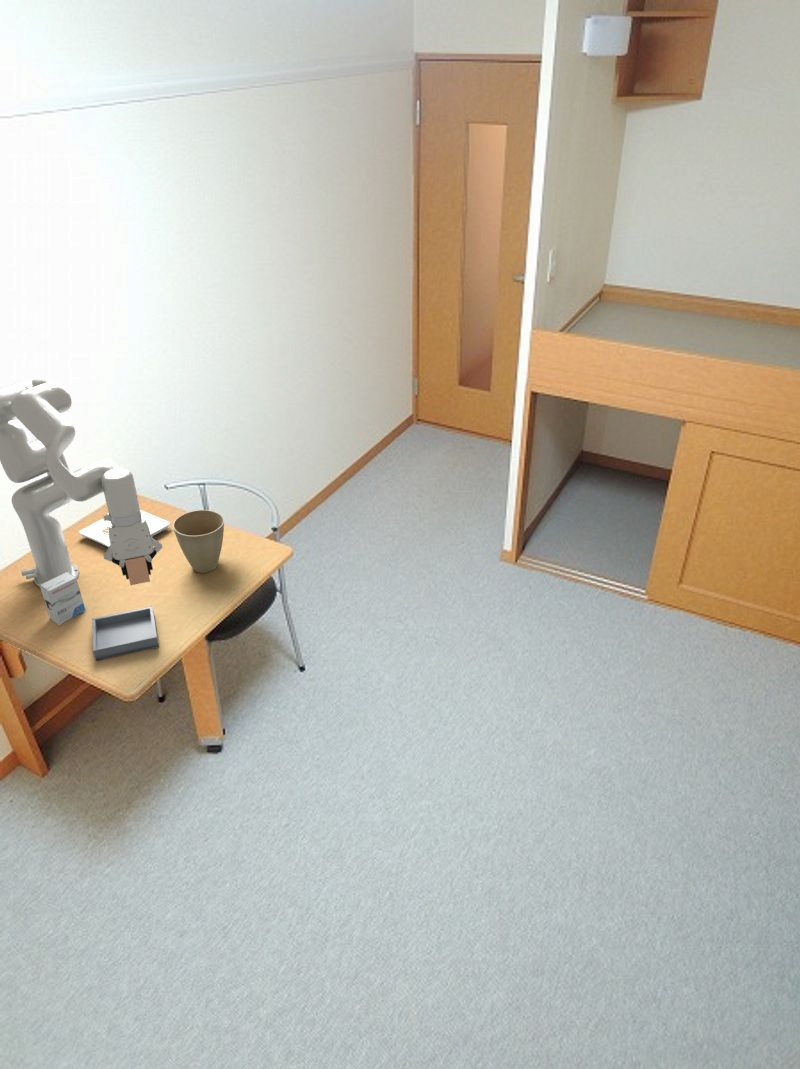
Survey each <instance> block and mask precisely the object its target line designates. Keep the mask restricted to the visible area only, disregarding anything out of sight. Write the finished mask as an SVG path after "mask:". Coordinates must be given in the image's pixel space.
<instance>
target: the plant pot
mask: <svg viewBox="0 0 800 1069" xmlns="http://www.w3.org/2000/svg"><path fill="white" fill-rule="evenodd" d="M172 528H173V531H174V534H175V537H176V540H177V542H178V545H179V547H180V549H181V550H182V553H183V554H184V556H185V559H186V560H187V561H188V563H189V565H190V566H191V567H192V570H194V571H195V572H198V573H208V572H209V573H210V572H212V571H213V570H215V569H216V568H217V566H218V564H219V560H220V556H221V553H222V552H221V551H222V547H223V543H224V542H223V541H224V534H225V533H224V530H225V518H224V516H223V515H222V514H221V513H219V512H217V511H214V510H209V509H197V510H192V511H191V510H190V511H187V512H185V513H183V514H181V515H179V516H178V517H177V518H175V519H174V521H173V523H172Z"/></svg>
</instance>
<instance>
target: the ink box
mask: <svg viewBox="0 0 800 1069" xmlns="http://www.w3.org/2000/svg"><path fill="white" fill-rule="evenodd" d="M39 588H40V591H41V594H42V597H43V601H44V603H45V607H46V609H47V612H48V613H47V614H48V616H49V619H51V620H52V621H53V622H54V623H56V624H57V625H61V624H63V623H65V622H67V621H68V620H71V619H72V618H74V617H76V616H78V615H79V614H82V613H83V612H85V611H86V607H85V604H84V600H83V596H82V593H81V589H80V586H79V582H78V578H77V579H76V577H74V576H73V575H71V574H70V573H68V572H66V573H64V574H62V575H60V576H58V577H56V578H54V579H51V580H49V581H47V582H45V583H43V584H41V585H40V587H39Z"/></svg>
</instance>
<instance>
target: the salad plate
mask: <svg viewBox="0 0 800 1069" xmlns="http://www.w3.org/2000/svg"><path fill="white" fill-rule="evenodd" d="M140 512H141V515H143V516H144V518H145V520H146V522H147V524H148V527H149V530H150V534H151V537H152V538H153V537H154V536H156V535H157V534H159V533H162V531H165V530H166V529H167V528H169V527H170V525H171V521H168V520H166V519H163V518H161V517H158V516H157V515H154V514H151V513H149V512H146V511H145V510H141V509H140ZM108 525H109V521H107V520H106V521H104V518H101V519H99V520H97V521H95V522H93V523H91V524H90V525H88V526H86V527H84V528H81V529H80V530H79V531H78V534H79V535H81V536H83V537H85V538H86V539H89V540H92V541H94V542H96V543H99V544H101V545H102V546H105V547H107V548H109V546H110V540H109V535H108V534H109V533H106V532H102V531H103V530H105V529H107V527H108ZM105 531H108V530H105ZM104 533H105V534H104Z"/></svg>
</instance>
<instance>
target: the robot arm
mask: <svg viewBox="0 0 800 1069" xmlns="http://www.w3.org/2000/svg"><path fill="white" fill-rule="evenodd" d="M71 407H72V397H71V395H70V393H69V391H68V390H67V389H66V388H65V387H64V386H63V385H62V384H60V383H58V382H56V381H53V380H48V379H47V380H46V379H34V378H31V379H25V380H22V381H18V382H16V383H14V384H10V385H7V386H4V387H0V463H1V466H2V468H3V470H4V471H3V472H4V473H5V475H6V476H7V478H8V479H9V480H10V481H11V482H13V483H15V484H21V483H26V482H28V481H30V480H33V479H35V478H37V477H40V476H42V475H44V474H47V475H46V476H43V477H41V478H39V479H38V480H34V481H32V482H30V483H27V484H26V485H24V486H22V487H20V488H18V489H17V490H16V491H14V493H13V494H12V496H11V504H12V508H13V509H14V511H15V513H16V515H17V516H18V518H19V521H20V522H21V525H22V527H23V530H24V532H25V536H26V539H27V542H28V545H29V549H30V551H31V554H32V558H33V561H34V564H35V566H32V568H26V569H21V576H22V577H25V579H26V580H30V579H33V580H34V583H35V585H36V586H37V587H39V588H40V585H41V584H43V583H45V582H47V581H49V580H51V579H54V578H56V577H58V576H60V575H62V574H64V573H66V572H68V573H70V574H71V575H73V576H74V577H76V579H77V580H78V577H79V575H80V569H79V568H80V567H79V566H78V565H76V564H75V563H72V562H71V561H72V560H71V557H70V553H69V551H68V546H67V543H66V539H65V535H64V532H63V529H62V526H61V522H59V521H58V520H57V519H56V518H55V517H53V516H50V514H51V513H52V512H54V511H55V510H57V509H59V508H61V507H63V506H65V505H67V504H69V503H71V502H72V501H75V502H81V503H82V502H83V503H84V502H86V501H88V500H91V499H92V498H95V497H96V496H98V495H100V494H102V493H103V495H104V498H105V503H106V507H107V508H106V509H107V514H105V515H102V516H103V518H104V521H106V520H107V521H109V525H108V532H109V540H110V546H109V547H107V549H106V551H105V552H104V554H103V559H104V560H106V561H108V562H112V563H113V564H115V565H117V566H119V568H120V569H121V570H120V571H121V574H122V576H125V578H126V580H129V576H128V572H127V568H126V563H125V559H130V558H135V557H140V556H145V559H146V564H147V569H148V573H149V576H151V575H152V573H151V571H153V570H154V568H153V563H152V562H153V559H154V557H156V556H157V553H159V552H160V551H161V550H162V549H163V544H162V543H161V542H159V541H158V540H157V539H155V538H154V537H153V536H152V537H151V534H150V530H149V527H148V524H147V522H146V520H145V518H144V516H143V515H141V512H140V510H141V508H140V502H139V498H138V494H137V488H136V483H135V478H134V475H133V473H132V472H131V471H130V470H128V469H125V468H122V467H120V465H119V464H117V463H116V462H114V461H113V459H110V458H102V459H98V460H97V461H95V462H93V463H91V464H90V463H89V464H88V465H86V466H83V467H81V468H79V469H78V470H75V471H73V472H71V471H70V468H69V465H68V462H67V460H66V458H65V456H64V452H65V450H67V448H68V447H69V446H70V445H71V444H72V442H73V440H74V438H75V437H76V429H75V427H74V426H73V425H72V424H71V422H69V421H68V420H67V419H66V418H65V417H64V415H62V414H63V413H65V412H67V411H69V410H70V409H71ZM14 420H18V421H20V423H22V425H23V426H24V427H25V428H26V429H27V430H28V431H29V432H30V433H31V434H32V435H33V436H34V437H35V438H36V439H33V440H31V441H29V438H28V437H27V434H26V432H25V430H24V428H23V427H22V426H21V425H20V424H19V423H17V422H16V421H14ZM103 518H102V519H103Z"/></svg>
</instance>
